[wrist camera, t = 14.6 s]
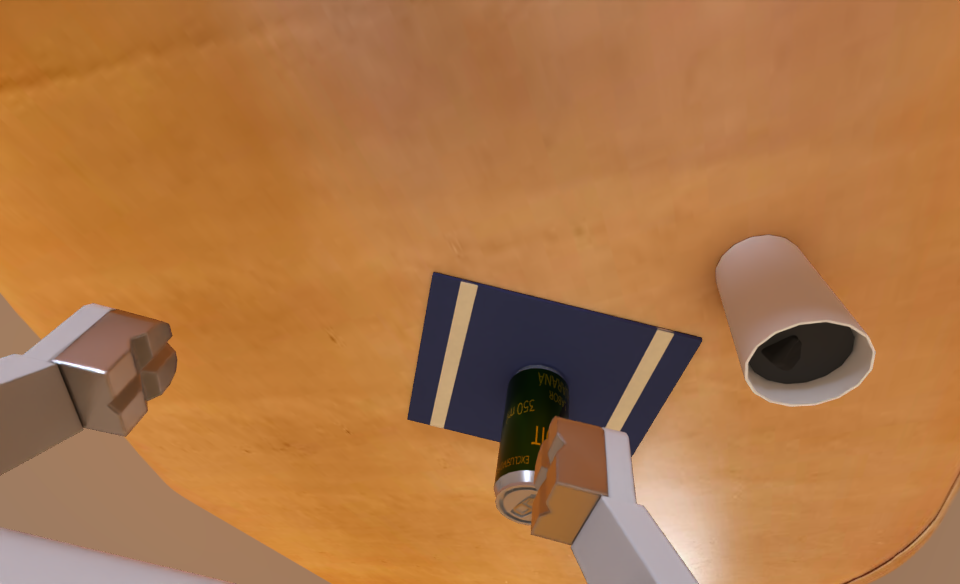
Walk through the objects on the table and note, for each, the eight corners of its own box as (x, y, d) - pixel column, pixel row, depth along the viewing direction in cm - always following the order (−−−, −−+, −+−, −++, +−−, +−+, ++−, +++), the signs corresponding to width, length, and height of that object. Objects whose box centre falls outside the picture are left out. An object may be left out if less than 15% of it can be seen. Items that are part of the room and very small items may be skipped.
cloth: (408, 416, 53) (407, 420, 53) (433, 271, 42) (432, 274, 42) (622, 469, 53) (622, 472, 53) (701, 337, 42) (702, 341, 42)
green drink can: (542, 413, 49) (535, 535, 40) (496, 384, 48) (477, 504, 38) (582, 383, 46) (584, 507, 37) (534, 352, 45) (523, 472, 35)
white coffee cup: (743, 321, 41) (784, 421, 33) (689, 268, 39) (720, 361, 31) (829, 272, 37) (899, 370, 29) (775, 210, 35) (835, 298, 27)
